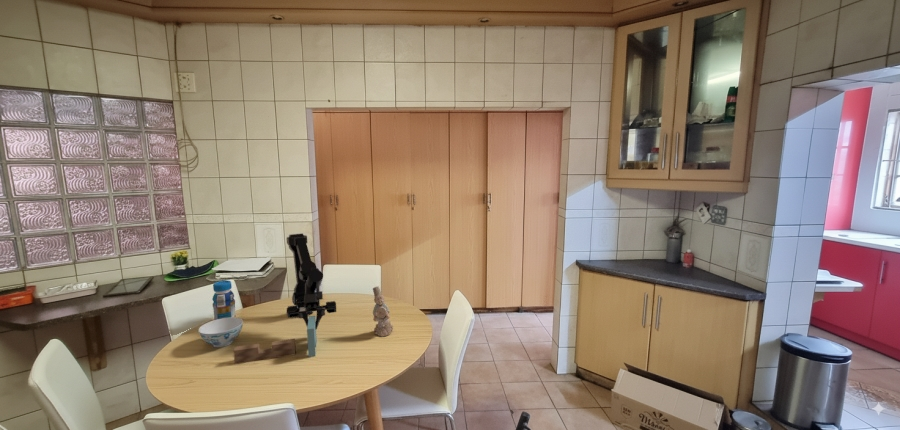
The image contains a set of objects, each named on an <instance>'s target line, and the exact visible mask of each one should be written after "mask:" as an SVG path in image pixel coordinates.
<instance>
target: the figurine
mask: <svg viewBox="0 0 900 430" xmlns="http://www.w3.org/2000/svg"><path fill="white" fill-rule="evenodd" d="M372 291H373V295H374V298H373V301H374V303H375V305H374V307H373V309H372V316H373V321H374V322H377V323H376V324H375V327H374V329H373V331H375V335H377V336H379V337H386V336H389V335H390V334H391V333H392V332H393V330H394V325H392V323H391V321H390V317H391V316H390V309H389V307H388V305H387V303H386V302H385V296H384V295H383V293H382V292H381V288H380V287H379V285H378V286H375V287H373V288H372Z"/></svg>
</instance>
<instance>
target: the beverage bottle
mask: <svg viewBox="0 0 900 430" xmlns="http://www.w3.org/2000/svg"><path fill="white" fill-rule="evenodd" d="M212 286H213V287H212V289H213V292H214V294H213V296H212V301H213V303H212V308H213V309H212V310H213V317H214V320H217V319H222V318H229V317H236V318H237V316H236V300H235V294H234V292H233V291H232V286H233V285H232V281H231V280H220V281H217V282H214V283H213V284H212Z"/></svg>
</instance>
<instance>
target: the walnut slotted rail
mask: <svg viewBox="0 0 900 430" xmlns="http://www.w3.org/2000/svg"><path fill="white" fill-rule="evenodd" d="M296 352H297V351H296V339H295V338H290V339H282V340H281V339H280V340H274V341H272V342H271V347H270V348H261V345H260V343H253V344H252V343H251V344H245V345H239V346H235V348H234V349H233V358H234V364H241V363H249V362H255V361H262V360H267V359H269V360H270V359H274V358H279V357H281V358H282V357H287V356H288V357H289V356H294V355H296Z"/></svg>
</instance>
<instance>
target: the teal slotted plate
mask: <svg viewBox="0 0 900 430" xmlns="http://www.w3.org/2000/svg"><path fill="white" fill-rule="evenodd" d="M315 324H316V315H312V316H311V315H308V326H306V336H307V354H308V358H312V357H316V352H317V351H316V348H317V343H318V341H317V338H318V336H317V329H315Z"/></svg>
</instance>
